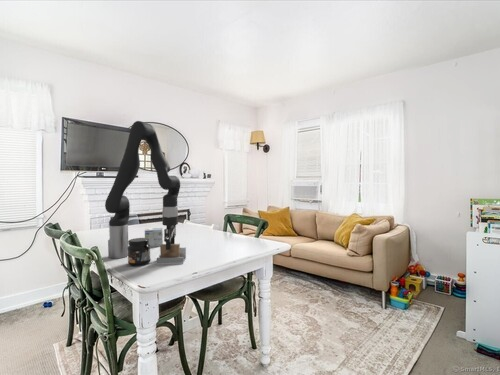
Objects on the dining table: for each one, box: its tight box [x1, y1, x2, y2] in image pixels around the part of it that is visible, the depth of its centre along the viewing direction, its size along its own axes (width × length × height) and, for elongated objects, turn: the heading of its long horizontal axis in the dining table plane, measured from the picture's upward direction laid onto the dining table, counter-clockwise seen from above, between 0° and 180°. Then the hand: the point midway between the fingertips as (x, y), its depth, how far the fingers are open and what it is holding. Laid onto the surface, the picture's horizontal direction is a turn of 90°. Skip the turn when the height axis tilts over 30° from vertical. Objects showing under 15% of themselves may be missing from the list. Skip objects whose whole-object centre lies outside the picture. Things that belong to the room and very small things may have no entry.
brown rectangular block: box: [159, 243, 181, 258], centre depth 139 cm, size 9×3×8 cm, turn 93°
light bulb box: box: [144, 227, 164, 248], centre depth 173 cm, size 11×7×11 cm, turn 108°
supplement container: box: [127, 237, 151, 267], centre depth 137 cm, size 10×10×12 cm
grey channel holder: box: [155, 246, 187, 266], centre depth 139 cm, size 13×9×6 cm
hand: (170, 247), depth 138 cm, fingers open, 8 cm apart
